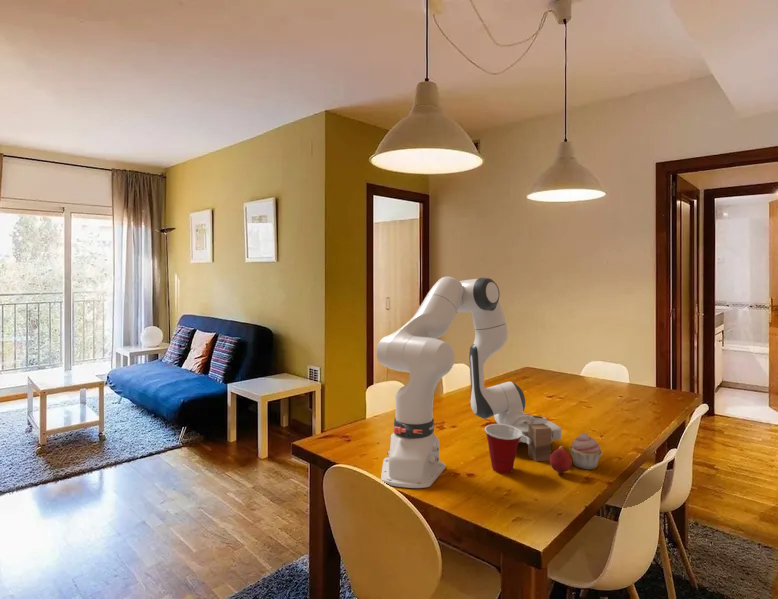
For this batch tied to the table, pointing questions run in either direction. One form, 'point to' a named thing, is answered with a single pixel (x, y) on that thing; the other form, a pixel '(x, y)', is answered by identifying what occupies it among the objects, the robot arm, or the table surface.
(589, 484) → the table surface
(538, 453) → the walnut block
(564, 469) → the onion
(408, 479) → the robot arm
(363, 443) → the table surface
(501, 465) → the plastic cup
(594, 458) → the cupcake
